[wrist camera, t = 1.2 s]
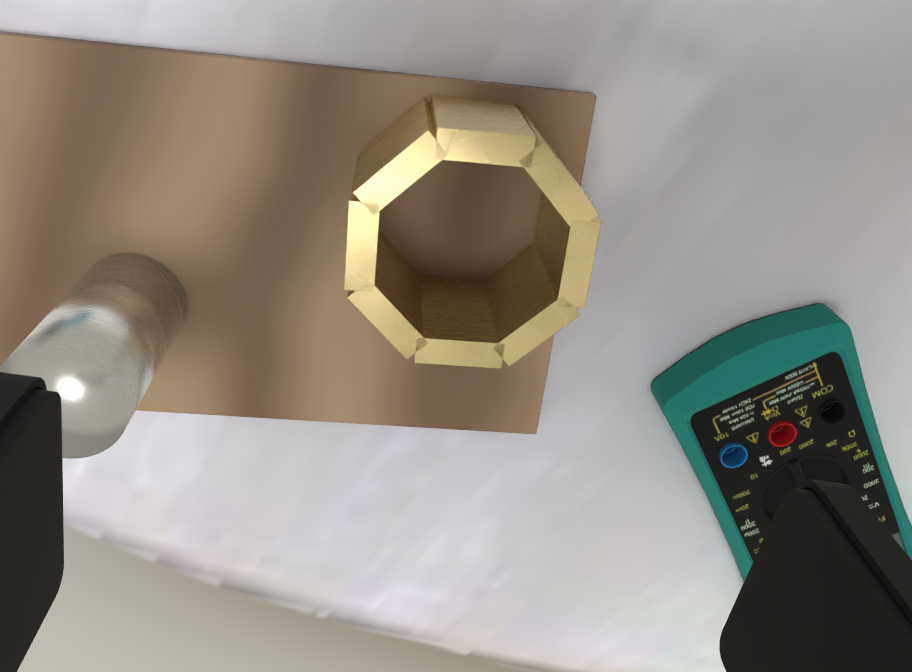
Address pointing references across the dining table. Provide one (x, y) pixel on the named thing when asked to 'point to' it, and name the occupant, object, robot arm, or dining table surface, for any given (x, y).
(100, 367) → the piston post
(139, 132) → the board
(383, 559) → the dining table surface
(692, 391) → the digital multimeter
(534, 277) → the ring
